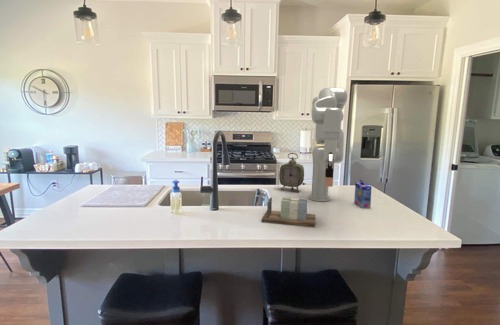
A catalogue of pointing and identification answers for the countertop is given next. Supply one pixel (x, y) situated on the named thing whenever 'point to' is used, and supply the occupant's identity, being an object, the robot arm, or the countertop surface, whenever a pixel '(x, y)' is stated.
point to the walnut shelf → (288, 221)
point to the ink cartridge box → (362, 194)
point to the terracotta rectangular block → (328, 180)
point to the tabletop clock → (291, 174)
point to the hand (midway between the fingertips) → (328, 175)
